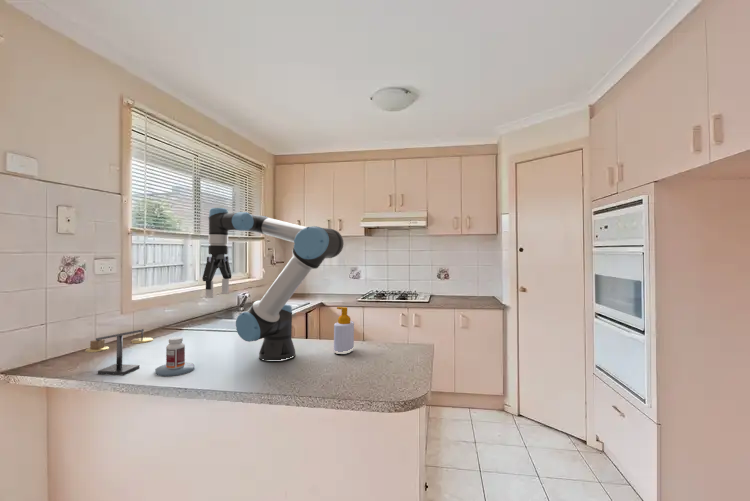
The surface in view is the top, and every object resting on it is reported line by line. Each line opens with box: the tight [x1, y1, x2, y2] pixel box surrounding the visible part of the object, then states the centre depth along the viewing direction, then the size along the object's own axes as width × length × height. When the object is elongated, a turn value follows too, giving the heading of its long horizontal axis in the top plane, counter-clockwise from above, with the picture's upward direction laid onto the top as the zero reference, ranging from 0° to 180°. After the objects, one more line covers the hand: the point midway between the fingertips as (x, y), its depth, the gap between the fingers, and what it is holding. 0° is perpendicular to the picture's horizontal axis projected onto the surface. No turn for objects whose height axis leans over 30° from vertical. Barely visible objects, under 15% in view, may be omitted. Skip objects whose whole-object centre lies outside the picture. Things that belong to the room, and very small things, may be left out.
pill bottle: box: [165, 336, 186, 370], centre depth 140 cm, size 6×6×11 cm
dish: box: [155, 361, 195, 377], centre depth 140 cm, size 13×13×1 cm
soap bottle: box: [333, 306, 355, 352], centre depth 170 cm, size 13×8×20 cm, turn 162°
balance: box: [85, 328, 154, 376], centre depth 138 cm, size 25×8×16 cm, turn 86°
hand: (217, 295), depth 155 cm, fingers open, 13 cm apart
